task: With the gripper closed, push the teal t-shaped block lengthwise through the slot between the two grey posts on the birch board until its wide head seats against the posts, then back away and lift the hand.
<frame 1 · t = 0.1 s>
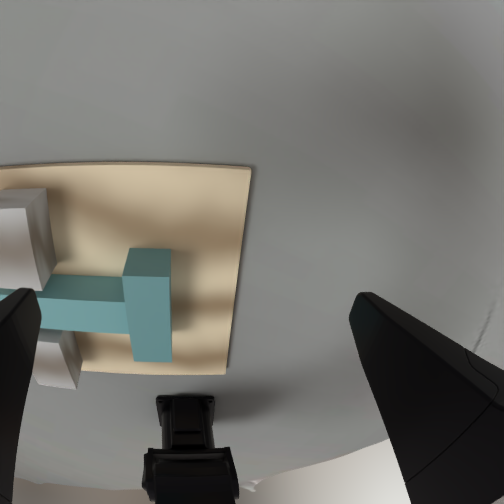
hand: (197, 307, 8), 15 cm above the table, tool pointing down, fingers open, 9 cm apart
wooden base board: (45, 283, 23), on the table
teal t-shaped block: (133, 293, 24), point 1 cm above the table, touching wooden base board
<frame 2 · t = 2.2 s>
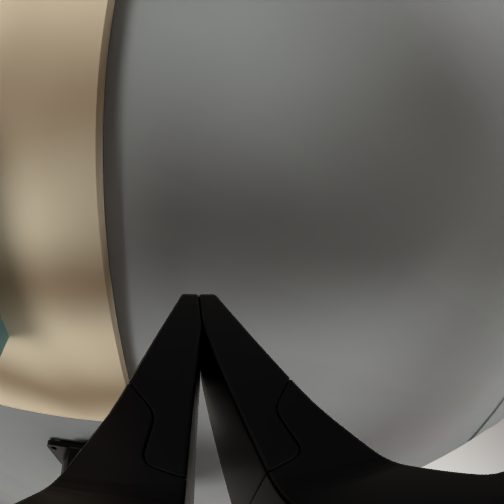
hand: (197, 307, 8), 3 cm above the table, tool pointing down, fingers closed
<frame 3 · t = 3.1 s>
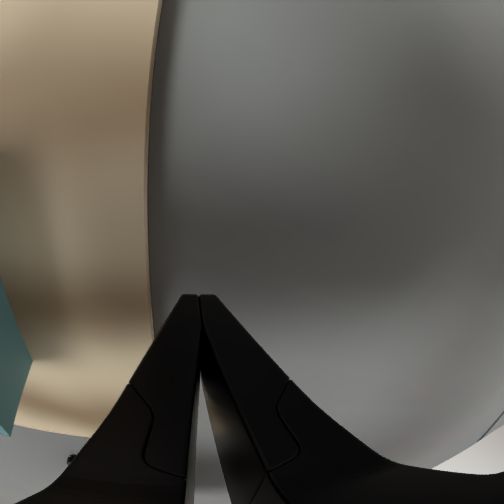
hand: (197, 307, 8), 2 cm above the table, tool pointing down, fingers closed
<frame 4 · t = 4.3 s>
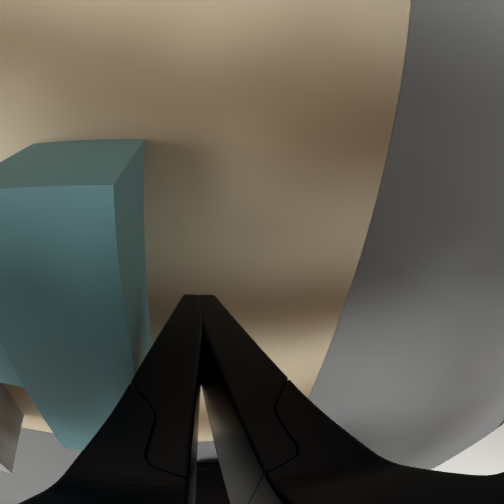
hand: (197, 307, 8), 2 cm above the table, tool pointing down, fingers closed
teal t-shaped block: (52, 278, 8), point 1 cm above the table, touching gripper
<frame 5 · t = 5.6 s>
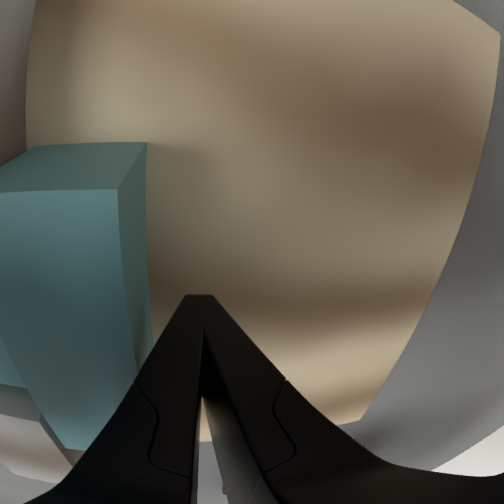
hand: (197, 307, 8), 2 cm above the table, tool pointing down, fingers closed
wooden base board: (4, 261, 8), on the table
teal t-shaped block: (54, 279, 8), point 1 cm above the table, touching gripper, wooden base board
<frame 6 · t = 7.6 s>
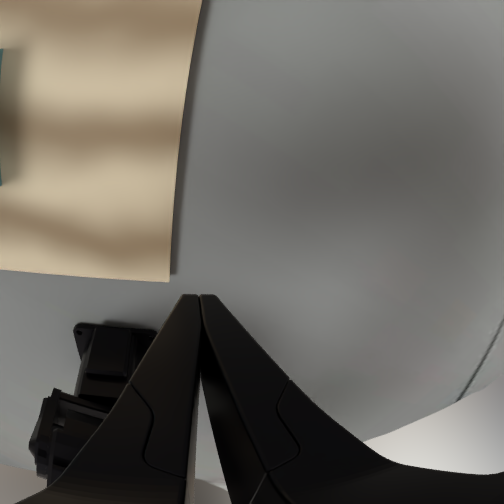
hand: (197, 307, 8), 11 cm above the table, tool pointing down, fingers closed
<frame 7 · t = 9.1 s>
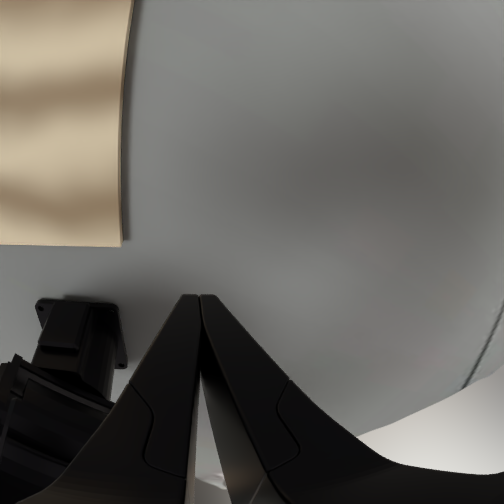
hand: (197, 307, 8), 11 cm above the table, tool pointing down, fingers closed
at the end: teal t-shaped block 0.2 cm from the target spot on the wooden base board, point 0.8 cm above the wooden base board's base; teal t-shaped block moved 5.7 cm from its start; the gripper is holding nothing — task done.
